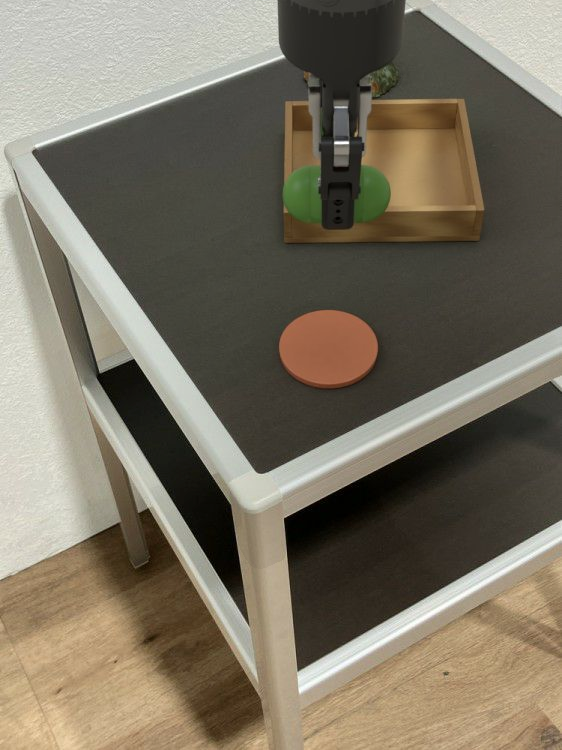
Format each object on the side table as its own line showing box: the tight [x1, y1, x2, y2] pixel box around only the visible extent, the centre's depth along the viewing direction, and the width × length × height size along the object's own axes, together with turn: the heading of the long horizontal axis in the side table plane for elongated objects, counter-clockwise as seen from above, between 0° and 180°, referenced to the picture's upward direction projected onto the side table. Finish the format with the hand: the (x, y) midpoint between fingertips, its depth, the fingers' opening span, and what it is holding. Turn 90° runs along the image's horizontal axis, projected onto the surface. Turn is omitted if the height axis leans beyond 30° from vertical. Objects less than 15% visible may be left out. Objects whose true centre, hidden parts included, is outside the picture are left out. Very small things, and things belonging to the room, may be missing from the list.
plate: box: [278, 309, 379, 390], centre depth 78 cm, size 8×8×1 cm
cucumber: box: [282, 165, 391, 223], centre depth 68 cm, size 8×4×4 cm, turn 89°
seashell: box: [303, 61, 400, 98], centre depth 102 cm, size 10×4×10 cm
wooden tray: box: [283, 98, 485, 244], centre depth 90 cm, size 17×16×4 cm
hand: (336, 203), depth 69 cm, fingers closed on cucumber, 4 cm apart
